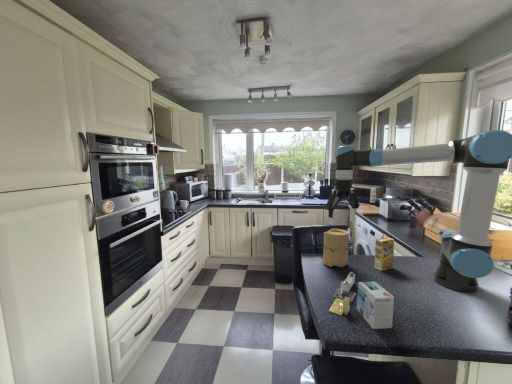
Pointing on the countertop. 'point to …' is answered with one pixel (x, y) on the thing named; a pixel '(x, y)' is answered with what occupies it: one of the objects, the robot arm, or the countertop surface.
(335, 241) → the container
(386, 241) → the candy box
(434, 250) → the countertop surface
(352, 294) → the plate
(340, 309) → the keeper
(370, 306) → the light bulb box
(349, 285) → the latch bar
